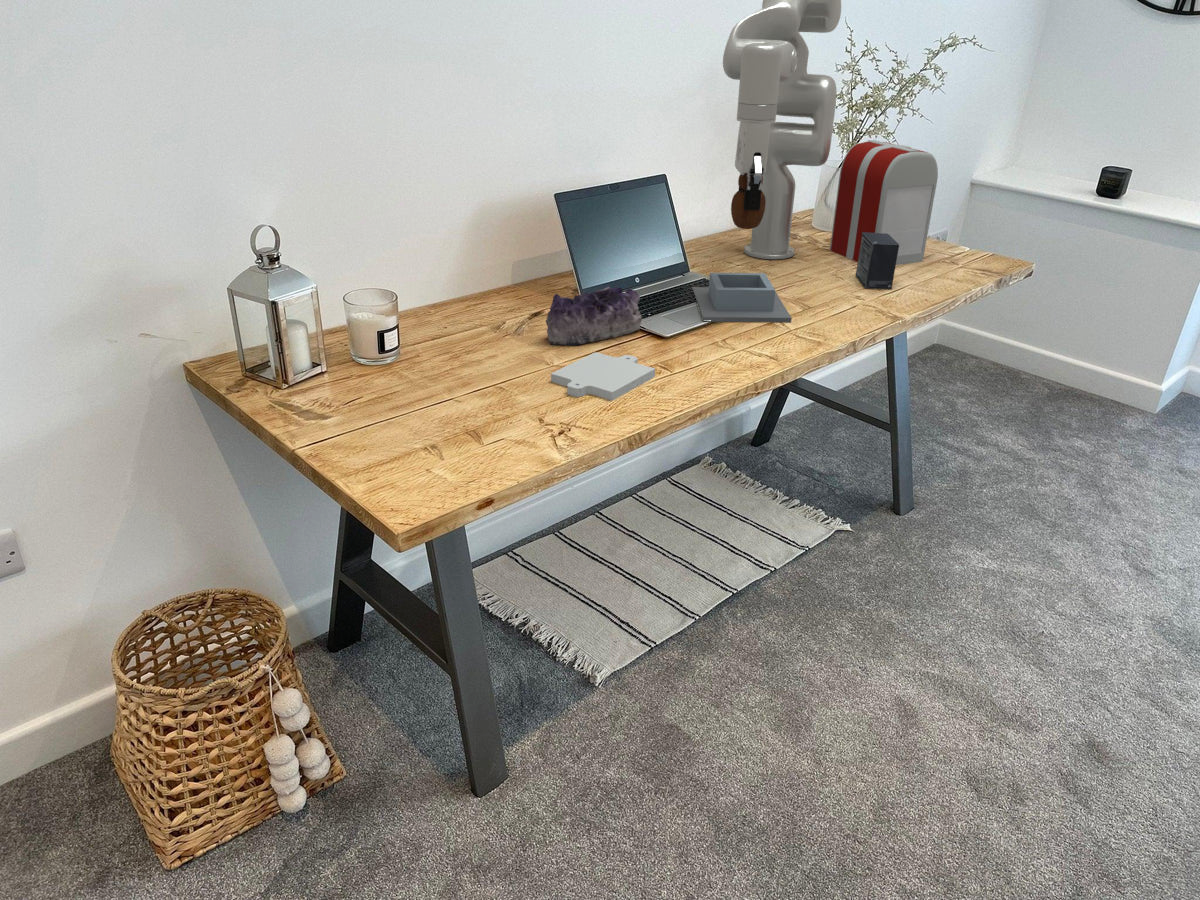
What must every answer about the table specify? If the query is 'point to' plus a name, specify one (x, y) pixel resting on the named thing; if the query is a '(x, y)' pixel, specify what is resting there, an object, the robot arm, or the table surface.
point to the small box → (877, 260)
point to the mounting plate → (603, 376)
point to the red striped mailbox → (884, 198)
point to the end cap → (740, 299)
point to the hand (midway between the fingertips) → (748, 205)
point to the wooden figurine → (739, 215)
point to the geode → (593, 317)
